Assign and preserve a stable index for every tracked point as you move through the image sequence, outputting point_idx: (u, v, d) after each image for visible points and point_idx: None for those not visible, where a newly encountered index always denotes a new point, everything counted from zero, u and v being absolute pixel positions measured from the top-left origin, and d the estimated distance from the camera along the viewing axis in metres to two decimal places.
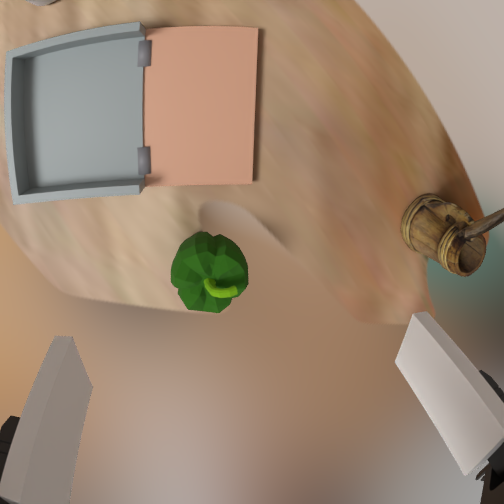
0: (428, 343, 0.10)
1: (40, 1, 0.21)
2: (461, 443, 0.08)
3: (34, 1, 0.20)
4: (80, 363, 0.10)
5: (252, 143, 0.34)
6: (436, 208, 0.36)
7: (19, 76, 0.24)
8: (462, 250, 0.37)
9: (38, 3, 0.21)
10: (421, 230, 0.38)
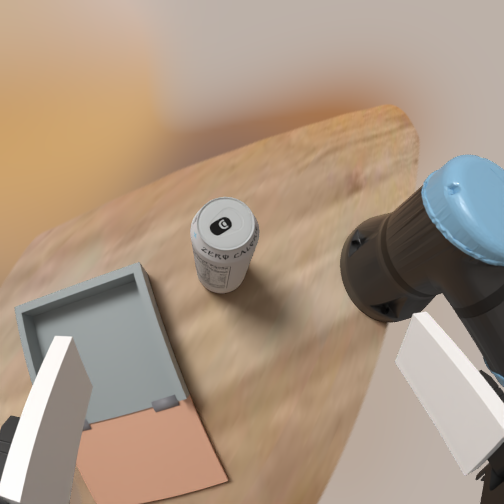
0: (428, 343, 0.10)
1: (197, 273, 0.37)
2: (461, 443, 0.08)
3: None
4: (80, 363, 0.10)
5: None
6: None
7: (120, 282, 0.36)
8: None
9: None
10: None
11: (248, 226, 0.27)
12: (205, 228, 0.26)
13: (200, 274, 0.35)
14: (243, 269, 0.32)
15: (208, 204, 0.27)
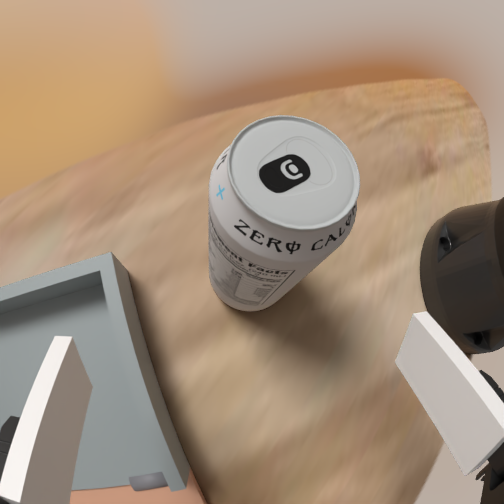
0: (428, 343, 0.10)
1: (211, 277, 0.22)
2: (461, 443, 0.08)
3: None
4: (80, 363, 0.10)
5: None
6: None
7: (81, 285, 0.20)
8: None
9: (209, 271, 0.22)
10: None
11: (346, 180, 0.11)
12: (248, 174, 0.11)
13: (217, 280, 0.19)
14: (306, 275, 0.16)
15: (255, 126, 0.11)
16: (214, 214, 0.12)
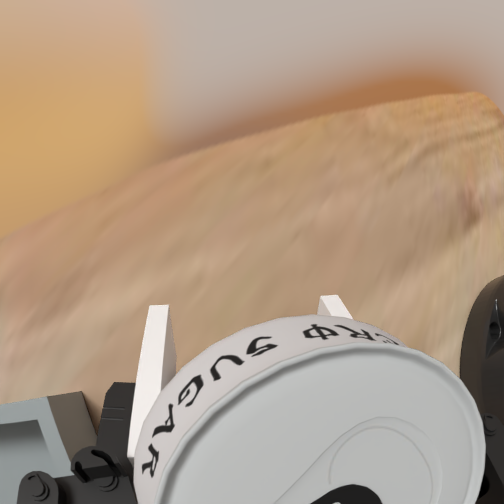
0: None
1: None
2: None
3: None
4: (171, 331, 0.12)
5: None
6: None
7: None
8: None
9: None
10: None
11: (456, 496, 0.03)
12: None
13: None
14: None
15: (232, 406, 0.03)
16: None
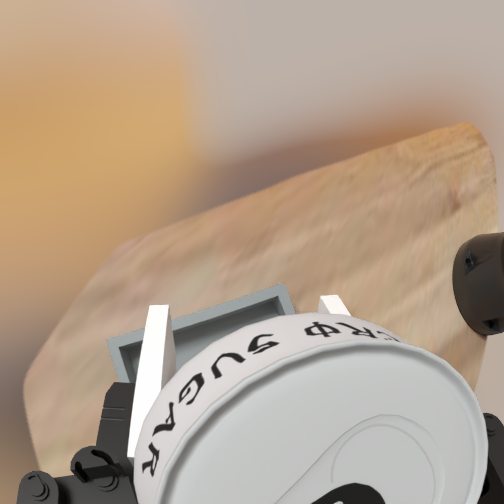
0: None
1: None
2: None
3: None
4: (171, 331, 0.12)
5: None
6: None
7: (254, 306, 0.32)
8: None
9: None
10: None
11: (459, 494, 0.03)
12: None
13: None
14: None
15: (234, 404, 0.03)
16: None
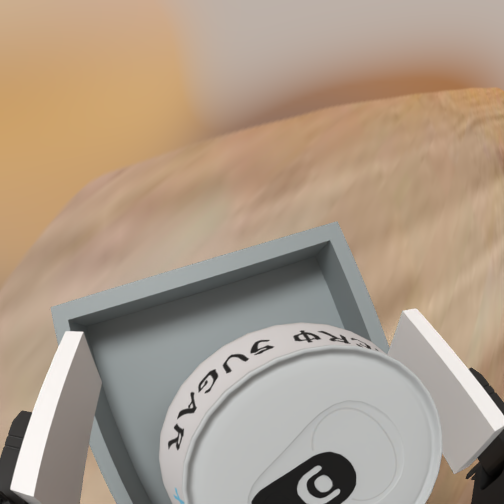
0: (417, 340, 0.11)
1: None
2: (450, 441, 0.08)
3: None
4: (90, 358, 0.10)
5: None
6: None
7: (290, 260, 0.20)
8: None
9: None
10: None
11: (418, 471, 0.04)
12: None
13: None
14: None
15: (241, 390, 0.05)
16: None
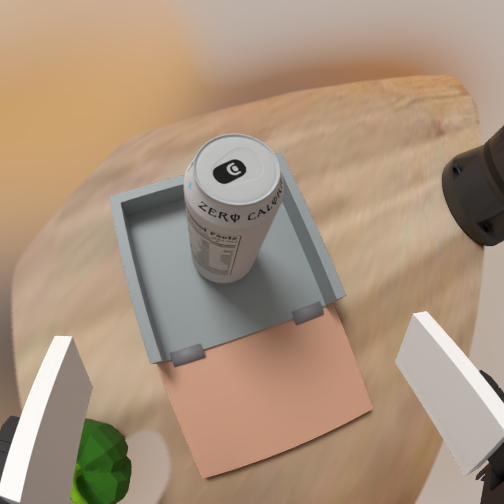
0: (428, 343, 0.10)
1: (192, 256, 0.28)
2: (461, 443, 0.08)
3: (190, 247, 0.28)
4: (80, 363, 0.10)
5: (249, 463, 0.25)
6: None
7: None
8: None
9: None
10: None
11: (270, 173, 0.17)
12: (206, 173, 0.17)
13: (195, 254, 0.25)
14: (257, 245, 0.22)
15: (212, 142, 0.18)
16: (186, 200, 0.18)
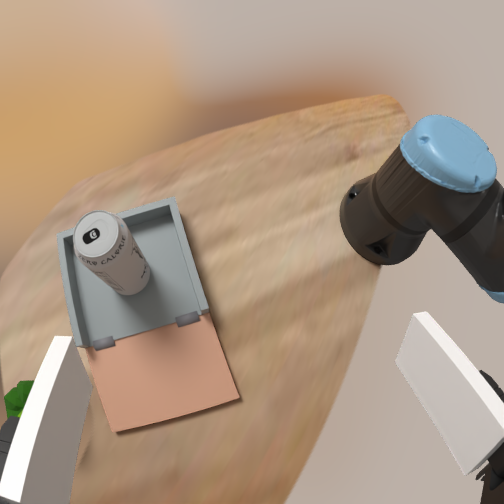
0: (428, 343, 0.10)
1: None
2: (461, 443, 0.08)
3: None
4: (80, 363, 0.10)
5: (142, 424, 0.35)
6: None
7: (155, 214, 0.44)
8: None
9: None
10: None
11: (112, 236, 0.28)
12: (79, 237, 0.27)
13: None
14: (126, 274, 0.33)
15: (85, 216, 0.28)
16: None
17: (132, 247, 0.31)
